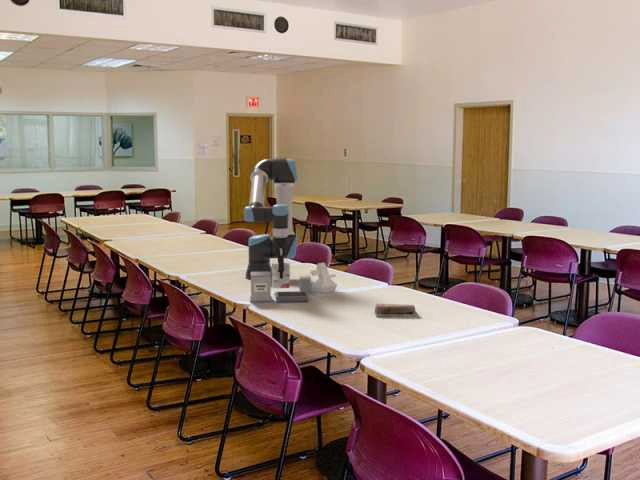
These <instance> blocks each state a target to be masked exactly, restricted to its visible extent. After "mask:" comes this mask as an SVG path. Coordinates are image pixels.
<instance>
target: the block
mask: <svg viewBox="0 0 640 480" xmlns="http://www.w3.org/2000/svg"><path fill="white" fill-rule="evenodd" d="M311 276H312V275H310V274H300V275H299V291H306V292H307V294H311V292H312V283H311V282H312V277H311Z"/></svg>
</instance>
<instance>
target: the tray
mask: <svg viewBox="0 0 640 480" xmlns="http://www.w3.org/2000/svg"><path fill="white" fill-rule="evenodd" d="M308 294H309V293H307V292H306V291H300V290H299V291H293V290H292V291H275V300H276V303H308V302H309V295H308Z"/></svg>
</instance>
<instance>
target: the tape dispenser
mask: <svg viewBox="0 0 640 480" xmlns="http://www.w3.org/2000/svg"><path fill="white" fill-rule="evenodd" d="M310 274H311V276H313V277H314V276H317V277H318V279H317V280H316V281H315V282H313V283H311V292H313V293H318V294H319V293H320V294H325V293H332V292H335V291H336V288H337V287H338V283H336V282H335V281H334V280H333V279H332V278H336V277H337V274H335V273H331V274H330V272H329V269H328V268H327V265H326V262H319V263H317V265H316V270H315V269H313V270H310Z"/></svg>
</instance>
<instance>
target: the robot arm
mask: <svg viewBox="0 0 640 480" xmlns="http://www.w3.org/2000/svg"><path fill="white" fill-rule="evenodd" d="M250 181H251V184H250V185H251V186H250V196H249V205H248V206H245V207H244V209H243V218H244V221H245V222H248V223H249V222H252V223H257V222H259V223H263V222H266V223H269V222H271V223H272V229H271V232H272V236H270V234H268V233H267V234H265V233H263V234H258V235H253V236H250V237H249V238H248V265H247V268H246V272H245V278H246V279H248V280H251V272H270V273H271V279H272V264H271V259H277V263H278V265H279V270H278V271H277V272H278V285H284V263H285V259H286V260H287V259H293V258H294V259H295V256H296V253H297V246H298V239H299V238H298V237H297V236H296V233H295V232H294V231H293V187H294V185H296V181H298V172H297V164H296V160H295V159H293V158H265V159H263V160H260V161H259V162H257V163H256V164H255V165H254V166H253V168H252V169H251V173H250ZM268 181H273V185H274V186H275V187H276V189H275V190H276V191H275V192H276V204H274V205H273V206H265V201H266V200H265V199H266V197H265V196H266V187H267V182H268Z"/></svg>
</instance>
